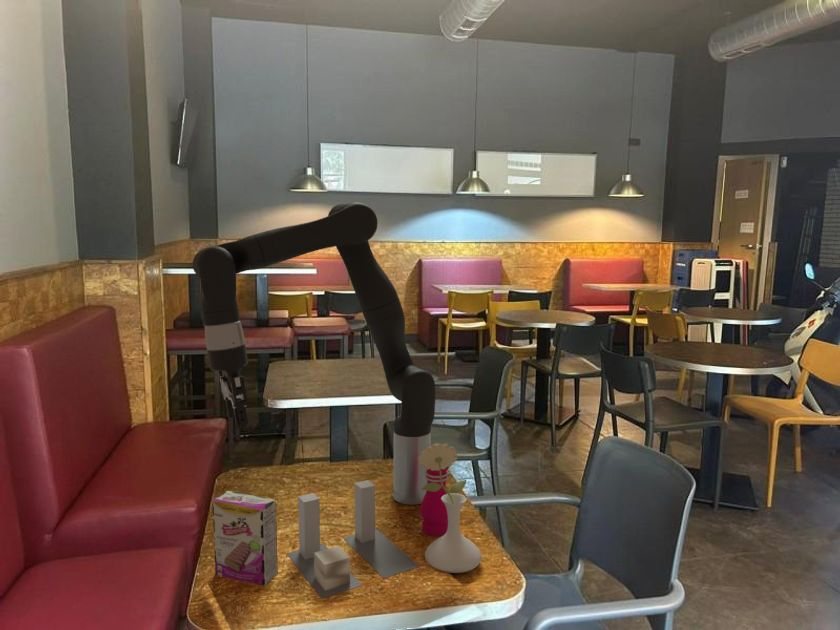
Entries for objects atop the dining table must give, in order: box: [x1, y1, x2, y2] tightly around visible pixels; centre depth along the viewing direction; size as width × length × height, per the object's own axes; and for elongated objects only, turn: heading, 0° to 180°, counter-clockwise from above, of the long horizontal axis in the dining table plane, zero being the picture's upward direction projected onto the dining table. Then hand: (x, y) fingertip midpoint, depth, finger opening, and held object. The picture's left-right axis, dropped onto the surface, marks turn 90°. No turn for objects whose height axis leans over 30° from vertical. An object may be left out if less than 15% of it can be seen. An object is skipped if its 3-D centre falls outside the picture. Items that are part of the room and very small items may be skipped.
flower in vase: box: [418, 443, 482, 574], centre depth 123 cm, size 13×11×25 cm
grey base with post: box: [342, 479, 420, 579], centre depth 125 cm, size 8×18×13 cm, turn 32°
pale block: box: [314, 545, 351, 591], centre depth 115 cm, size 5×5×5 cm
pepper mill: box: [419, 443, 450, 537], centre depth 137 cm, size 7×7×20 cm
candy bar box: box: [212, 490, 279, 586], centre depth 117 cm, size 11×5×16 cm, turn 71°
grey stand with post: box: [286, 492, 363, 600], centre depth 119 cm, size 8×18×13 cm, turn 32°
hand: (237, 421), depth 128 cm, fingers open, 8 cm apart
